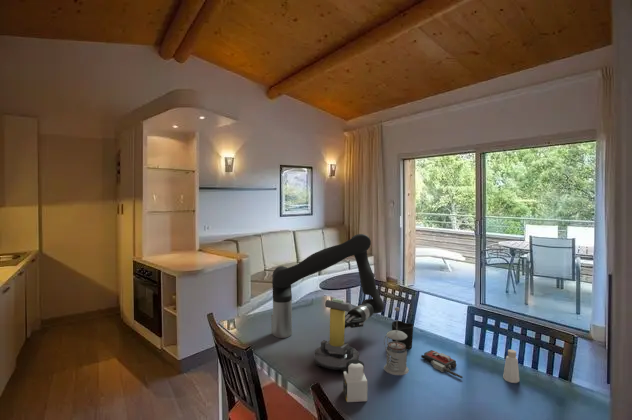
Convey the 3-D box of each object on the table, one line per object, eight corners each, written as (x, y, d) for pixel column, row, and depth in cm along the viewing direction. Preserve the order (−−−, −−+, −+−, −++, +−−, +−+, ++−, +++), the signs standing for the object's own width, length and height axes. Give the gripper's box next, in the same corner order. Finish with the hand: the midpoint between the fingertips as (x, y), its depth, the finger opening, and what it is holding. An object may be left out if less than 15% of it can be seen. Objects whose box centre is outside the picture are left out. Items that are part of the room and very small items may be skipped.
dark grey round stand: (306, 367, 141) (306, 348, 141) (328, 350, 157) (328, 332, 156) (346, 380, 132) (346, 359, 131) (366, 361, 147) (366, 342, 147)
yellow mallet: (322, 351, 144) (323, 299, 143) (329, 346, 149) (330, 295, 149) (344, 358, 139) (345, 303, 138) (351, 352, 144) (352, 299, 143)
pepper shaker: (519, 384, 129) (520, 355, 129) (502, 380, 132) (503, 351, 132) (519, 378, 134) (520, 349, 133) (503, 374, 137) (504, 346, 136)
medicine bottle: (343, 390, 126) (343, 357, 125) (362, 389, 126) (363, 356, 125) (346, 402, 118) (346, 367, 118) (367, 401, 119) (367, 367, 118)
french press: (394, 377, 134) (395, 313, 133) (375, 364, 144) (376, 304, 143) (414, 371, 139) (415, 308, 137) (394, 358, 149) (395, 300, 148)
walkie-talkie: (417, 360, 148) (460, 382, 132) (417, 350, 148) (460, 370, 131) (430, 355, 153) (474, 375, 137) (431, 345, 153) (474, 364, 136)
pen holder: (397, 351, 156) (397, 329, 155) (388, 342, 165) (388, 321, 164) (416, 349, 158) (417, 327, 157) (406, 340, 167) (407, 319, 166)
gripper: (345, 304, 164) (326, 315, 150) (372, 309, 157) (355, 321, 143) (345, 320, 165) (326, 332, 150) (372, 326, 158) (355, 339, 143)
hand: (340, 326), depth 146 cm, fingers closed
